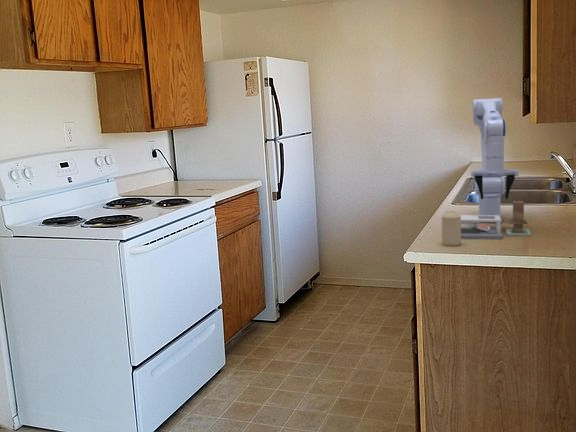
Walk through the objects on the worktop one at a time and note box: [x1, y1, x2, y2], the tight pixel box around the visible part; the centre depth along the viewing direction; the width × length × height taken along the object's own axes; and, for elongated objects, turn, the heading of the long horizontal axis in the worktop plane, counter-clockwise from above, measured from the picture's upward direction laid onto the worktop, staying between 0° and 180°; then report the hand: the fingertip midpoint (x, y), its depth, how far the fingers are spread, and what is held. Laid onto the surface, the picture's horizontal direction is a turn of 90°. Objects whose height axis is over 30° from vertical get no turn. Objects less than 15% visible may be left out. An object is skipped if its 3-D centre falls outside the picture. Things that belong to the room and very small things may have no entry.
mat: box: [505, 228, 532, 237], centre depth 193 cm, size 7×7×1 cm
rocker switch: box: [461, 222, 491, 232], centre depth 195 cm, size 4×9×1 cm, turn 73°
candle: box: [441, 210, 462, 247], centre depth 184 cm, size 6×6×10 cm
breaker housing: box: [459, 214, 504, 240], centre depth 196 cm, size 14×16×5 cm
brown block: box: [508, 200, 528, 233], centre depth 192 cm, size 5×5×10 cm
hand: (494, 198), depth 199 cm, fingers open, 7 cm apart
